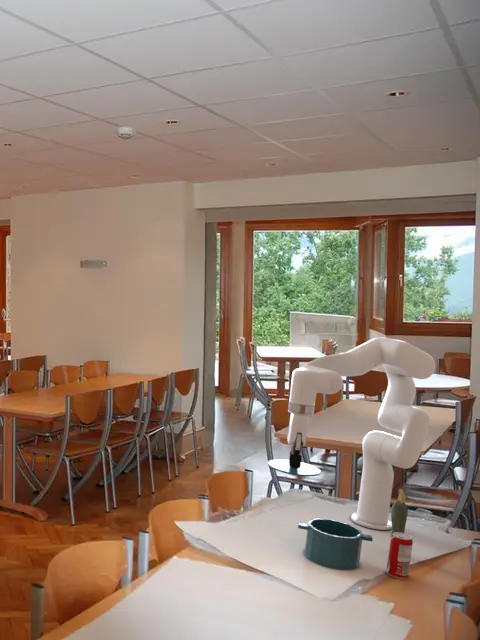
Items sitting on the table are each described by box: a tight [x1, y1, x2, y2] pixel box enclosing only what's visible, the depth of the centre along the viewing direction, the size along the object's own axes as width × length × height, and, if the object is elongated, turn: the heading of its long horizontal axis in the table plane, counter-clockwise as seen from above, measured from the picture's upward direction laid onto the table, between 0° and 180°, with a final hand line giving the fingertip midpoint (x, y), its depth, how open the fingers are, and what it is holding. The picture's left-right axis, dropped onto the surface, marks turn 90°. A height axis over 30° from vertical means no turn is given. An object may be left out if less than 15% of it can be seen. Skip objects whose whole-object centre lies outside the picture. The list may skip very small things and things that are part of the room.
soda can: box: [385, 532, 414, 580], centre depth 211 cm, size 6×6×12 cm
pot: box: [297, 518, 374, 571], centre depth 220 cm, size 15×20×10 cm
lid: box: [267, 458, 322, 477], centre depth 235 cm, size 16×16×7 cm
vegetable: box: [390, 488, 409, 538], centre depth 227 cm, size 4×4×20 cm
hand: (294, 465), depth 235 cm, fingers closed on lid, 2 cm apart
